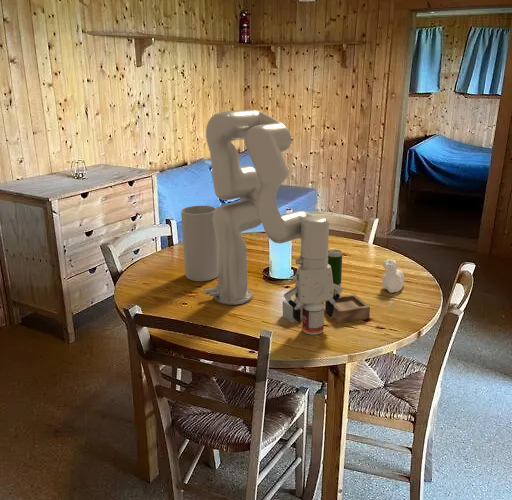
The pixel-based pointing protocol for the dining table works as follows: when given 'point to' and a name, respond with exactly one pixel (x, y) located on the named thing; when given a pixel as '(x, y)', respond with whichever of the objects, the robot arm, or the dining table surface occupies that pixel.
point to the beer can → (335, 265)
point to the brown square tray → (350, 309)
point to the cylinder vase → (199, 243)
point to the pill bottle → (313, 318)
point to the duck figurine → (392, 276)
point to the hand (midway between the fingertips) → (313, 318)
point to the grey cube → (290, 310)
